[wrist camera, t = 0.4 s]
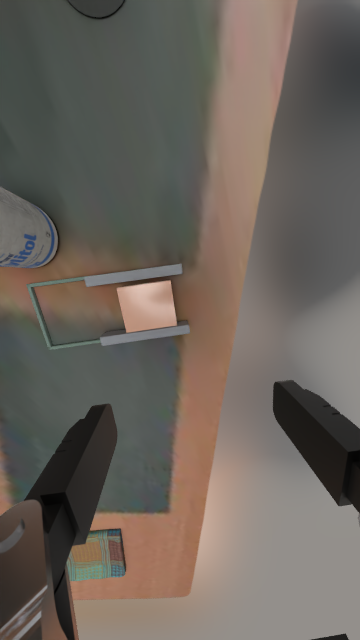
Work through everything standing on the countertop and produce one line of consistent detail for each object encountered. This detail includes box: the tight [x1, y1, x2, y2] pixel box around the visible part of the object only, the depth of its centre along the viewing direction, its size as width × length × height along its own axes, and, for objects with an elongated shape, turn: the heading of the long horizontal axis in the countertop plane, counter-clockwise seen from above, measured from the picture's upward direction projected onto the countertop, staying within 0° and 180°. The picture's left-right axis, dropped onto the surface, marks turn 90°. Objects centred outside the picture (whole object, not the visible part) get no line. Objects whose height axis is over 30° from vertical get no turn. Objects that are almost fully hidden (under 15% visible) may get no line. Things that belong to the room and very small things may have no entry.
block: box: [117, 279, 177, 333], centre depth 30 cm, size 7×8×5 cm
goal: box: [26, 276, 101, 350], centre depth 31 cm, size 12×10×1 cm
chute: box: [84, 264, 190, 346], centre depth 31 cm, size 11×15×3 cm
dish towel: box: [67, 529, 126, 581], centre depth 47 cm, size 17×23×2 cm
